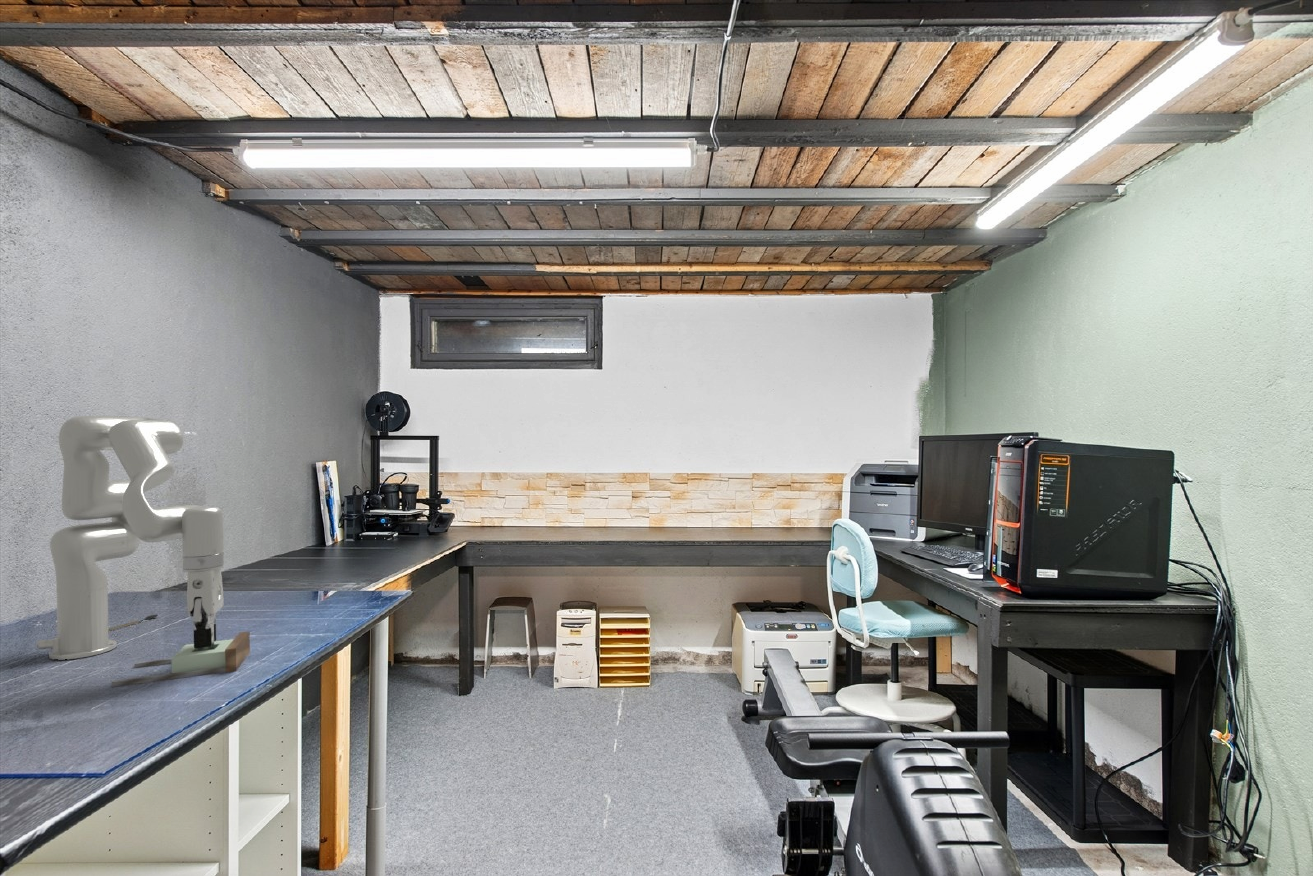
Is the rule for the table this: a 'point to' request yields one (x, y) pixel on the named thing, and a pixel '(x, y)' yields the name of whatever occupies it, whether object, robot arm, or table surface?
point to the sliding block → (200, 657)
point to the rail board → (232, 662)
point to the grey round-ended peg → (211, 632)
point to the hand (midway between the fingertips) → (205, 644)
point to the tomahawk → (132, 623)
